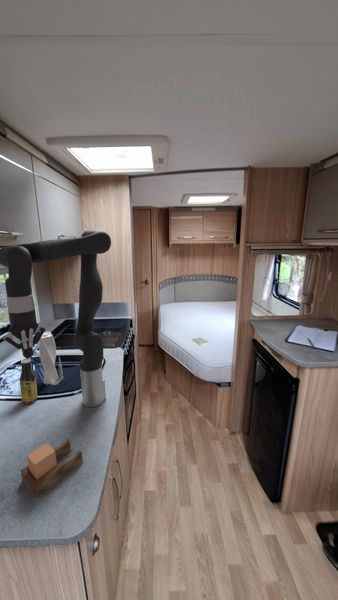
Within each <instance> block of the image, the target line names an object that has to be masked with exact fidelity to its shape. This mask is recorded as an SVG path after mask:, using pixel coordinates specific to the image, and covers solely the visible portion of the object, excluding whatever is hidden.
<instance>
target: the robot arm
mask: <svg viewBox="0 0 338 600" xmlns="http://www.w3.org/2000/svg"><path fill="white" fill-rule="evenodd" d="M111 246H112V239H111V237H110V234H108V233H107V232H106V231H104V230H101V229H97V230H96V229H95V230H94V229H90V230H88V229H87V230H85V231H84V232H83V233H82V234H81V236H80V237H73V238H56V239H48V240H42V241H41V240H40V241H36V242H31V243H19V244H10V245H5V246H3V247H1V248H0V265H2V266H3V267H5V268H8V270H7V271H8V273H7V274H8V277H7V278H6V279H5V282H4V286H5V293H6V306H7V311H8V312H7V313H8V319H9V331H8V333H7V334H6V335H3V336H2V339H3V340H4V341H5V342H7V343H8V344H10V345H11V346H12V347H14V348H16V349H17V350H21V352H22V357H23V358H25V359H31V358H32V357H33V356H34V350H33V347H34V345H37V344H39V340H40V338H41V337H42V335H43V333H44V332H46V328H45V327H43V326H39V323H38V322H37V314H36V305H35V299H34V296H33V288H32V282H31V280H32V274H33V264H44V263H50V262H54V261H58V260H63V259H67V258H71V257H72V258H73V257H75V256H76V257H77V256H80V277H79V278H80V279H79V280H80V281H79V295H78V309H77V310H78V313H77V315H78V316H77V323H76V329H75V336H74V344H75V347H76V348H77V349H79V351H81V352H82V355H83V357H82V359H81V360H80V362H79V373H80V383H81V396H82V405H83V406H85V407H87V408H94V407H99V406H100V405H101V404H102V403H103V402H104V400H105V399H106V398H107V395H106V380H105V379H104V378H103V364H102V363H103V359H104V340H103V338H102V336H101V335H100V334H98V333H96V332H94V323H95V316H96V315H97V313H98V311H99V309H100V306H101V304H102V300H103V292H104V291H103V290H104V289H103V287H104V286H103V281H102V279H101V275H100V272H99V271H98V265H97V259H98V255H99V254H100V255H101V254H105V253H107V252H108V251H109V250H110V248H111ZM14 337H15V338H16V339H18V342H19V343H17V342H16V341H15V340H13V339H14Z"/></svg>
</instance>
